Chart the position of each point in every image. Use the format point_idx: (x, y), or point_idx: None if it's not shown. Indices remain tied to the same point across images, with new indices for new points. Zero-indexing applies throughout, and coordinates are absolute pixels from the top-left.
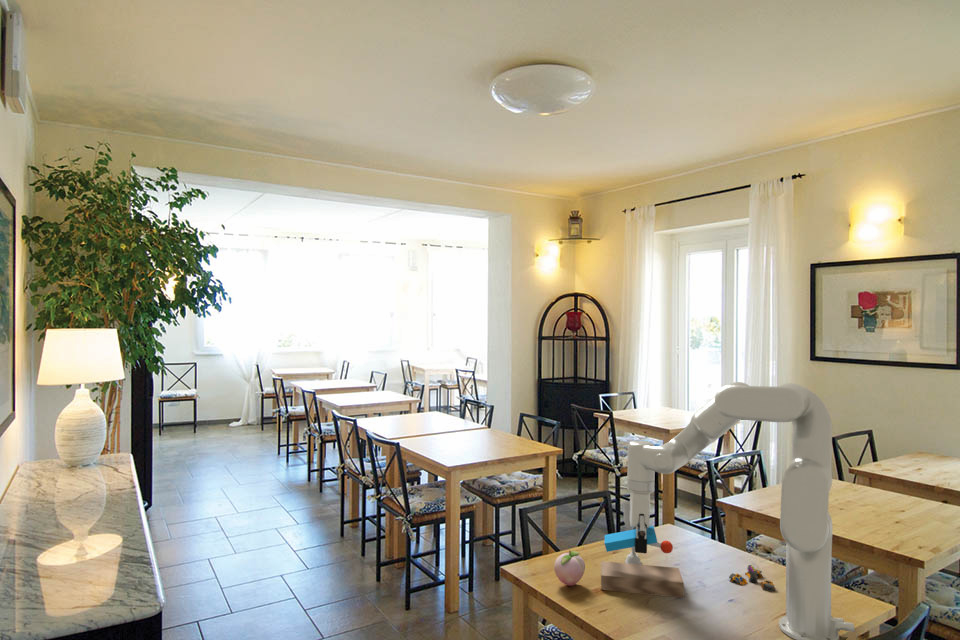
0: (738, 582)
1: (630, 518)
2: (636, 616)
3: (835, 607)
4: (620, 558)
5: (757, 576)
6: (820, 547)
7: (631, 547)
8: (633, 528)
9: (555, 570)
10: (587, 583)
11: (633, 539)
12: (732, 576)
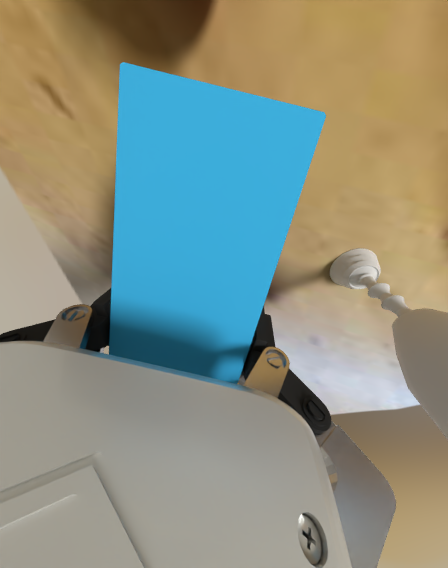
0: None
1: (12, 429)
2: (70, 195)
3: None
4: (394, 242)
5: None
6: None
7: (376, 284)
8: (258, 339)
9: None
10: (227, 63)
11: (115, 290)
12: (238, 382)
